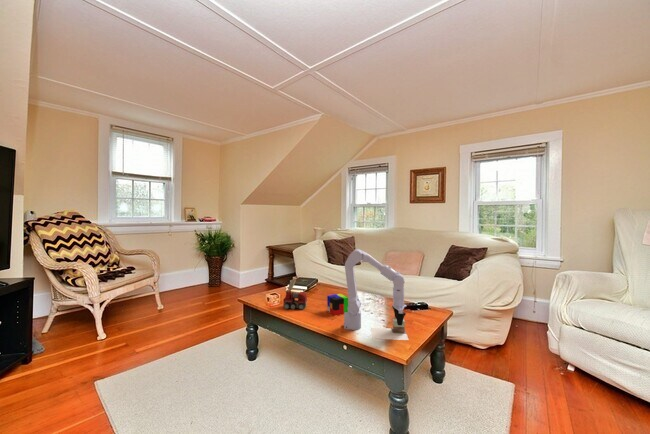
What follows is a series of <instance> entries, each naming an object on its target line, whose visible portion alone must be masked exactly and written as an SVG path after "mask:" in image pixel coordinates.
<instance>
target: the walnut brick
mask: <svg viewBox="0 0 650 434" xmlns="http://www.w3.org/2000/svg"><path fill="white" fill-rule="evenodd" d="M392 328H393V331H394V332H401V333H405V331H406V326H405V327H394V325H393V324H392Z"/></svg>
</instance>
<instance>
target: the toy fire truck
mask: <svg viewBox="0 0 650 434" xmlns="http://www.w3.org/2000/svg"><path fill="white" fill-rule="evenodd" d="M296 281H297V280H296V279H291V280H290V283H289V285H288V287H287V289H286V290H285V297H284V298H283V301H282V302H283V308H284V309H285V310H289V309H291V310H292V309H294V310H296V309H298V310H301V311H303V310H304V309H305V308H307V306H308V297H307V294H306V293H305V292H304V291H300V292H294V291H292V290H293V288H294V285H295V283H296Z"/></svg>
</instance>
